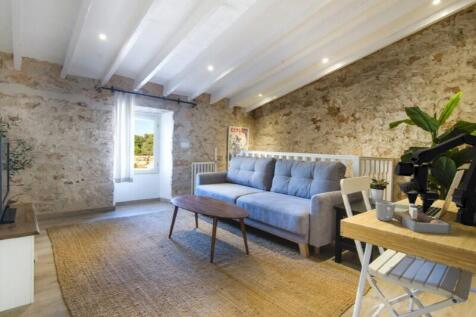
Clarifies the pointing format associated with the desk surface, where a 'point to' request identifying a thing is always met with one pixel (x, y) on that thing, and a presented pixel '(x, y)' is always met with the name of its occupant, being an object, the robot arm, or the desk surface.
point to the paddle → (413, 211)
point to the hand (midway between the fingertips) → (417, 210)
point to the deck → (420, 217)
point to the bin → (427, 226)
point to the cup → (385, 210)
